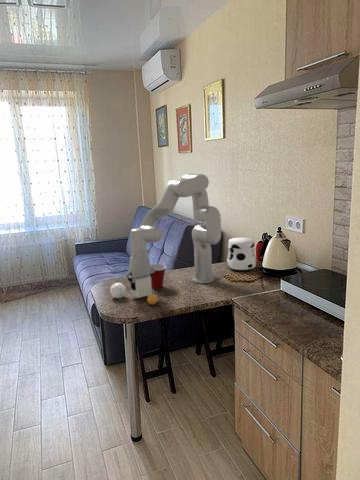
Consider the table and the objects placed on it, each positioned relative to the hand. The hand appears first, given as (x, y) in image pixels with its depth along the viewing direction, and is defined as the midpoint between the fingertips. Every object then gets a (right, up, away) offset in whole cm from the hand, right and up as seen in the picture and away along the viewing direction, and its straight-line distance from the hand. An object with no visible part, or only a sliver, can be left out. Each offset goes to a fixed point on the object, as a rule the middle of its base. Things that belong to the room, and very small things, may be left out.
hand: (141, 287), depth 182 cm
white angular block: (0, -3, +1) cm, 3 cm away
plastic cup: (+7, -2, +16) cm, 18 cm away
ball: (+6, -4, -8) cm, 11 cm away
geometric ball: (-12, -6, +3) cm, 13 cm away
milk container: (+57, +6, +43) cm, 72 cm away
